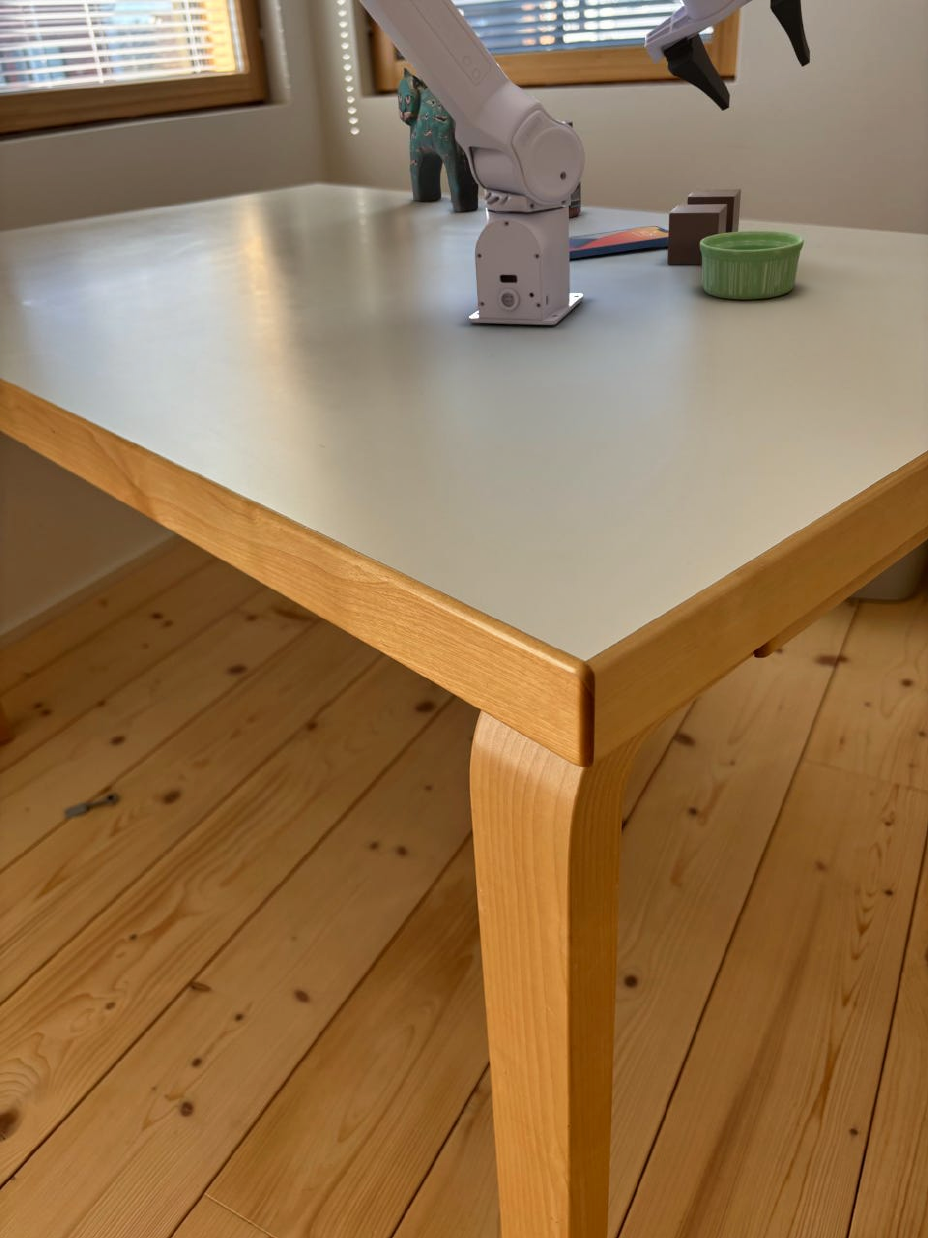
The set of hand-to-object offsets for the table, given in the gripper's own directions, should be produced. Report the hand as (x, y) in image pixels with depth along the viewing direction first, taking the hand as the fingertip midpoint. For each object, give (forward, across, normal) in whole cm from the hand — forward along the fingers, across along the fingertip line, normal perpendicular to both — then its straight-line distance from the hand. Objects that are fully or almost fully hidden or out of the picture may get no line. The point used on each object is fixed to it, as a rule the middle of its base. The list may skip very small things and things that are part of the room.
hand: (765, 81), depth 91 cm
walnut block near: (+12, +13, +4) cm, 18 cm away
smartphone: (+9, +23, -2) cm, 25 cm away
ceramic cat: (+11, +56, -34) cm, 67 cm away
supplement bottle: (+15, +36, -22) cm, 45 cm away
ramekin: (+8, +5, +17) cm, 19 cm away
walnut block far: (+16, +14, -5) cm, 22 cm away
